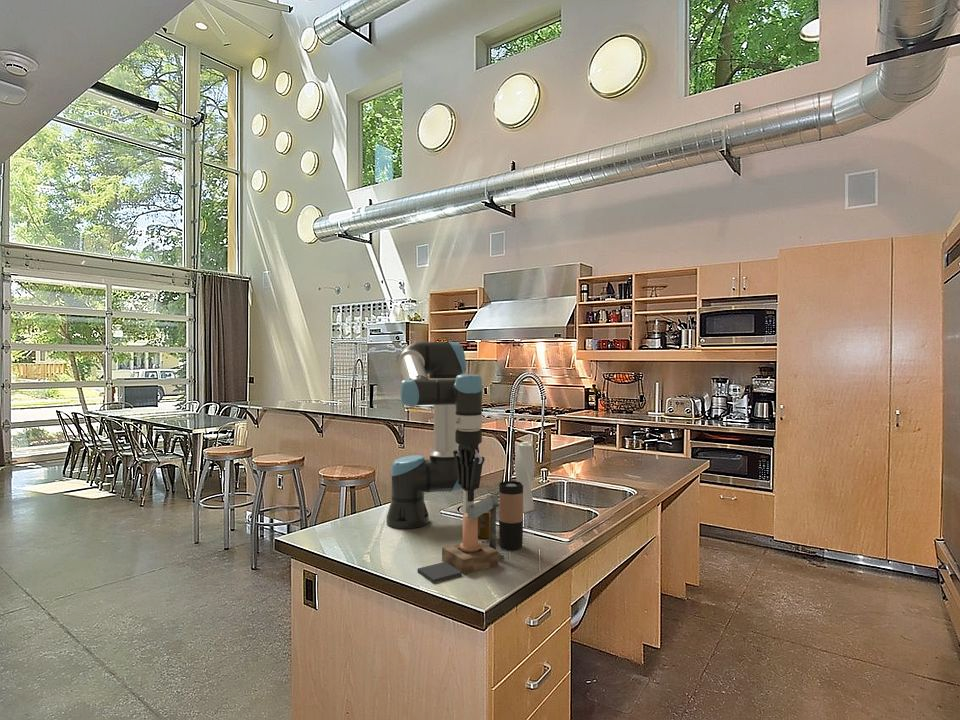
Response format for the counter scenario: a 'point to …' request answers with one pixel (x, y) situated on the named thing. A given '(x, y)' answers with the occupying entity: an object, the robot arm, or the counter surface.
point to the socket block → (477, 559)
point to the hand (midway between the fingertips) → (468, 511)
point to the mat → (439, 572)
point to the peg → (470, 535)
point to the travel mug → (510, 515)
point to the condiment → (484, 527)
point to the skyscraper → (525, 473)
